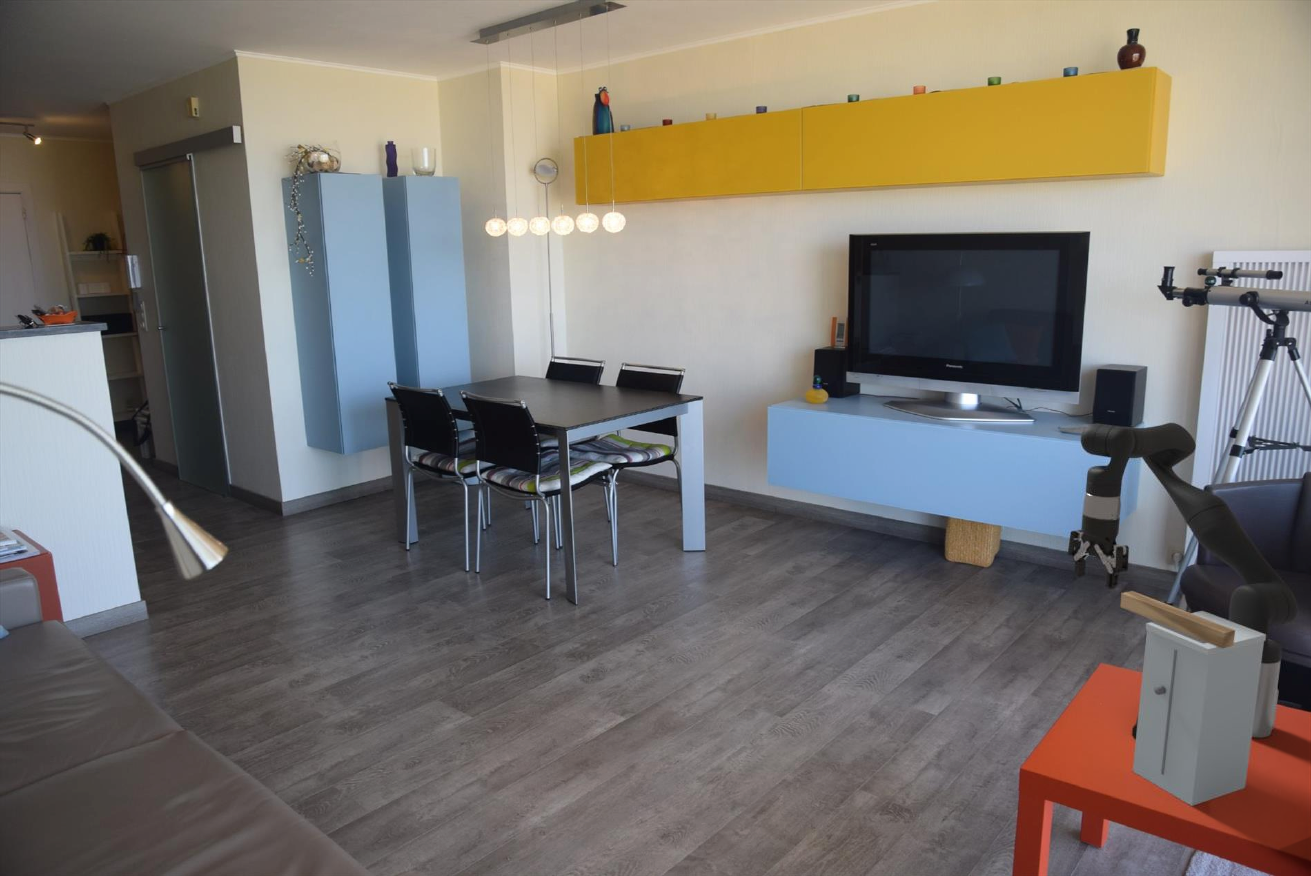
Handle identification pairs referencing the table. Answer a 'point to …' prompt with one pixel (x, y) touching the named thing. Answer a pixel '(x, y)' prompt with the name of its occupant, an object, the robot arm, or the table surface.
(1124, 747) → the table surface
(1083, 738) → the table surface
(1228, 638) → the oak batten
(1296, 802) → the table surface
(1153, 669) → the light grey cabinet
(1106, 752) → the table surface
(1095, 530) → the robot arm
